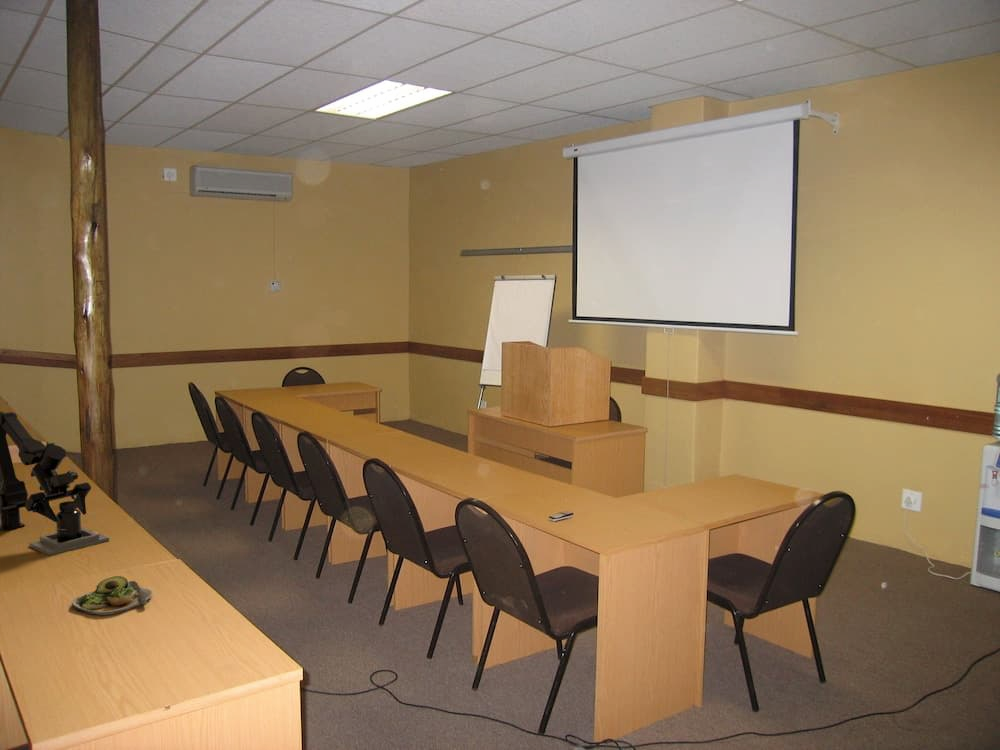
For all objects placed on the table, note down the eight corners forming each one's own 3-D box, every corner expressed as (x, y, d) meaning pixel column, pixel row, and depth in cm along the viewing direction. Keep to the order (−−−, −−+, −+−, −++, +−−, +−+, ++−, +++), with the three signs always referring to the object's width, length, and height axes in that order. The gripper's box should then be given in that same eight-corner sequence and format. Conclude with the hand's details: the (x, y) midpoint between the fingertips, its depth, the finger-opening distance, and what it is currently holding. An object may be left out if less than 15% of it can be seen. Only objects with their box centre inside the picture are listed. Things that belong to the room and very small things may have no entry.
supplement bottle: (56, 544, 240) (53, 507, 239) (58, 538, 246) (56, 501, 245) (81, 541, 243) (79, 504, 242) (82, 535, 249) (80, 499, 248)
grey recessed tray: (29, 546, 242) (29, 538, 242) (89, 532, 256) (88, 524, 256) (48, 555, 233) (48, 547, 233) (109, 540, 247) (109, 533, 247)
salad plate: (173, 599, 202) (172, 582, 202) (109, 624, 187) (108, 606, 186) (126, 585, 212) (126, 568, 211) (62, 608, 196) (61, 590, 196)
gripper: (27, 469, 236) (51, 509, 231) (86, 457, 252) (109, 495, 248) (14, 490, 240) (37, 531, 236) (73, 478, 256) (95, 515, 252)
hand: (71, 517), depth 243 cm, fingers open, 9 cm apart
